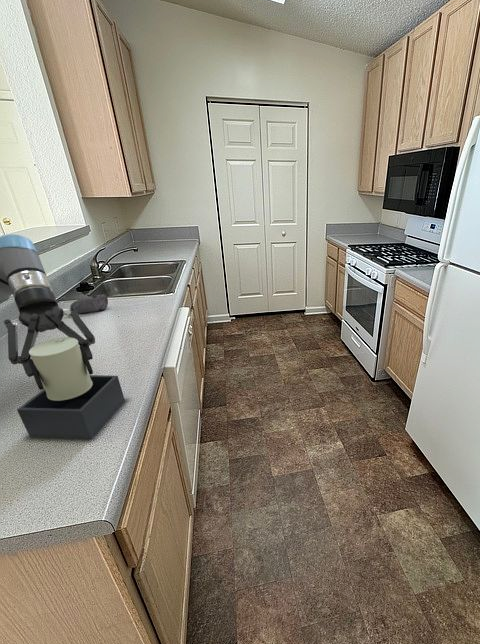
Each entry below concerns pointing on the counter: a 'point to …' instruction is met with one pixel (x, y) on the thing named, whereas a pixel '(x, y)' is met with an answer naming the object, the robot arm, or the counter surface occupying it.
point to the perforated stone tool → (91, 303)
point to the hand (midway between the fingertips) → (66, 379)
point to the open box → (73, 411)
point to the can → (61, 368)
